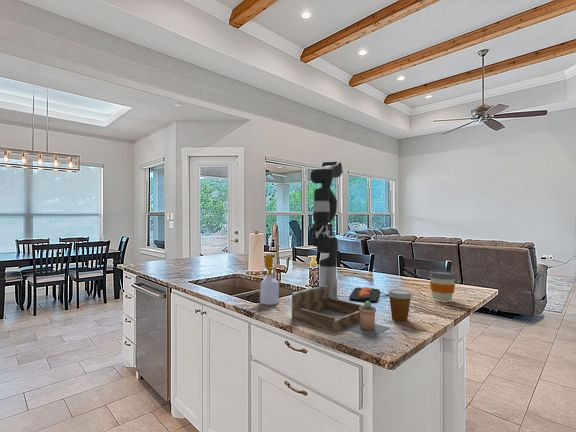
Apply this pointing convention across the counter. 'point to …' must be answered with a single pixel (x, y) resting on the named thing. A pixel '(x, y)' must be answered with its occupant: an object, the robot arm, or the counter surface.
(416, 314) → the counter surface
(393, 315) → the disposable coffee cup
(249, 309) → the counter surface
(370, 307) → the terracotta pot
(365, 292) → the sushi plate
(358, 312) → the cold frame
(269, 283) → the soap bottle
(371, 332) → the slate mat
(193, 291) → the counter surface
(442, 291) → the reusable coffee cup
